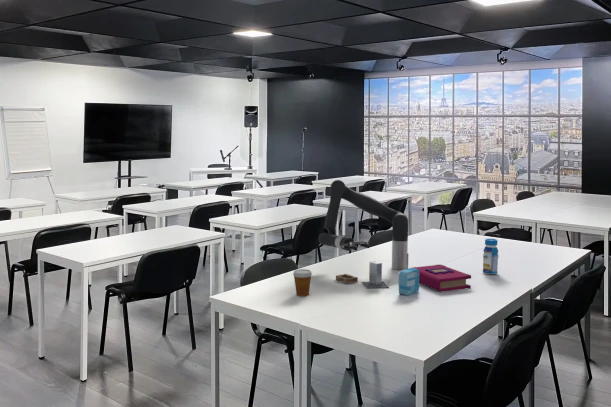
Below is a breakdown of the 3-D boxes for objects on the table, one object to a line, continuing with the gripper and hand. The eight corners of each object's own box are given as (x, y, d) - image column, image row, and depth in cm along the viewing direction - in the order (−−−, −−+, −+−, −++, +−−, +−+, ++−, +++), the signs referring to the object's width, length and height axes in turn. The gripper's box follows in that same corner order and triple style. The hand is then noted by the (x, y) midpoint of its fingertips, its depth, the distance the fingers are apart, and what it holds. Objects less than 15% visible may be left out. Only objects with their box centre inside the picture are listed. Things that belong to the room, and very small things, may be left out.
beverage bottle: (498, 275, 316) (500, 241, 314) (483, 274, 318) (484, 240, 316) (496, 272, 325) (498, 238, 322) (481, 271, 326) (482, 237, 324)
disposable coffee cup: (298, 298, 274) (298, 274, 273) (290, 293, 282) (289, 270, 281) (315, 295, 278) (315, 272, 277) (306, 291, 287) (306, 268, 285)
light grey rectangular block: (369, 283, 299) (369, 261, 297) (374, 282, 301) (374, 261, 299) (376, 286, 294) (376, 264, 292) (381, 285, 296) (381, 263, 294)
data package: (406, 296, 277) (406, 272, 275) (398, 294, 280) (398, 271, 278) (419, 291, 285) (419, 268, 284) (411, 289, 288) (412, 267, 287)
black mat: (384, 282, 304) (384, 281, 304) (388, 287, 292) (388, 287, 292) (362, 282, 303) (362, 281, 303) (366, 288, 291) (366, 287, 291)
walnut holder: (335, 280, 308) (335, 275, 308) (346, 278, 312) (346, 273, 312) (347, 283, 300) (347, 279, 300) (357, 281, 304) (357, 277, 304)
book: (438, 293, 284) (438, 278, 283) (408, 280, 310) (408, 266, 309) (472, 288, 291) (472, 274, 290) (440, 276, 317) (440, 263, 316)
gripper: (334, 238, 313) (352, 242, 300) (353, 235, 321) (372, 238, 308) (334, 251, 314) (352, 255, 301) (354, 247, 322) (372, 252, 308)
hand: (362, 247), depth 304 cm, fingers open, 8 cm apart
